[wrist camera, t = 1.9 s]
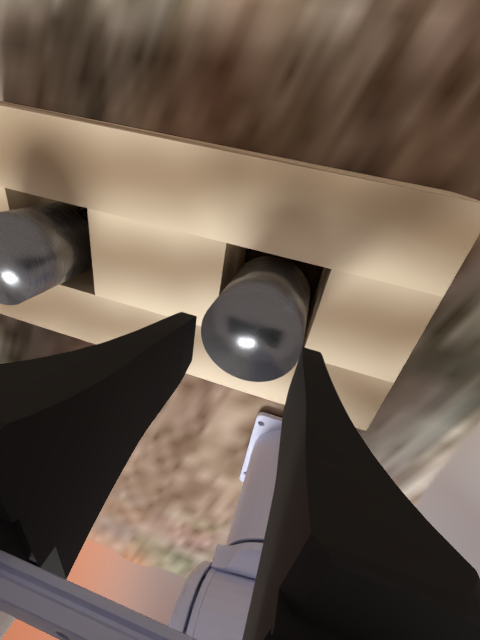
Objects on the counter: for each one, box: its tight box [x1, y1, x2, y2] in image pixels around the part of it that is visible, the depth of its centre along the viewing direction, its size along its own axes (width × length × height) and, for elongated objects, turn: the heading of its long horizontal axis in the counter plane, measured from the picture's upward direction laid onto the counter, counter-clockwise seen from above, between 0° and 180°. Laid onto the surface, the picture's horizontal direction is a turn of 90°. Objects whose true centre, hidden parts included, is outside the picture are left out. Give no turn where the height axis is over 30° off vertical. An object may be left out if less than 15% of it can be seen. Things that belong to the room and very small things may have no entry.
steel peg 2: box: [201, 256, 310, 382], centre depth 14 cm, size 4×4×5 cm
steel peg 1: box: [0, 202, 92, 305], centre depth 15 cm, size 4×4×5 cm
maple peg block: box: [0, 101, 480, 431], centre depth 18 cm, size 12×26×5 cm, turn 80°
